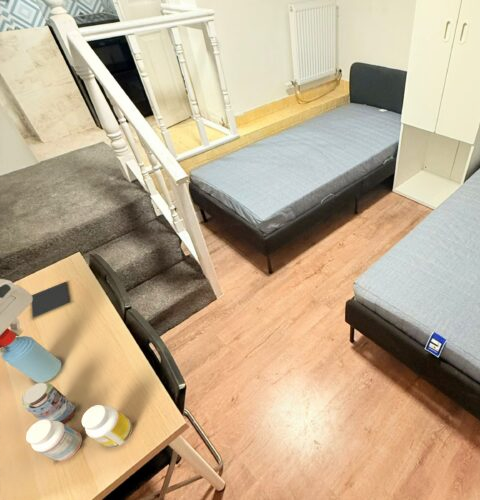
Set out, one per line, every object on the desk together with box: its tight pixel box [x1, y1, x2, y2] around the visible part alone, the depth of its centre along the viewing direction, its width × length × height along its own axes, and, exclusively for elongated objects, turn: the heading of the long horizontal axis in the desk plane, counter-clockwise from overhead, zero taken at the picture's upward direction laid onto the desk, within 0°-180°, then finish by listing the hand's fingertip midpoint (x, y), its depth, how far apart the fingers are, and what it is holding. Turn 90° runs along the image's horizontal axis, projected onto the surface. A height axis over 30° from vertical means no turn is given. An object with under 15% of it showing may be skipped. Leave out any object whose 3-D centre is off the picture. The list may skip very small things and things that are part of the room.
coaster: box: [31, 281, 70, 318], centre depth 109 cm, size 10×10×1 cm
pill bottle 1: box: [25, 419, 83, 462], centre depth 74 cm, size 6×6×11 cm
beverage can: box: [21, 382, 77, 425], centre depth 78 cm, size 6×7×12 cm
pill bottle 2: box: [81, 404, 133, 449], centre depth 75 cm, size 6×6×12 cm
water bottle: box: [1, 335, 62, 384], centre depth 85 cm, size 7×7×18 cm
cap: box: [0, 327, 17, 347], centre depth 79 cm, size 4×4×2 cm
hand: (10, 342), depth 81 cm, fingers closed on cap, 4 cm apart
